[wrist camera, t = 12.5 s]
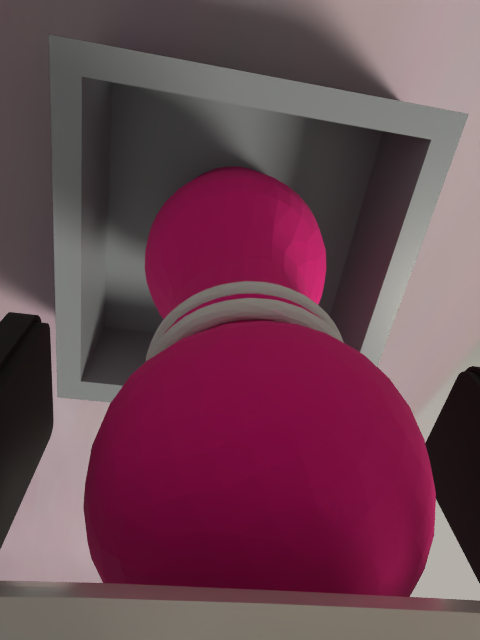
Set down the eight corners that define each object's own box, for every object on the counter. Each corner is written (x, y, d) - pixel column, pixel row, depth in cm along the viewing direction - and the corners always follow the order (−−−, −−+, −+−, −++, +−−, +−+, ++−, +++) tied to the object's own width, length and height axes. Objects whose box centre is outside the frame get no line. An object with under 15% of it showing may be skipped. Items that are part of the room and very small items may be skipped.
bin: (94, 46, 19) (48, 34, 14) (404, 105, 21) (468, 114, 16) (89, 331, 26) (57, 397, 20) (328, 359, 27) (355, 426, 22)
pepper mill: (203, 320, 24) (165, 940, 7) (129, 200, 21) (-301, 763, 4) (327, 261, 23) (682, 833, 5) (267, 124, 20) (638, 424, 2)
